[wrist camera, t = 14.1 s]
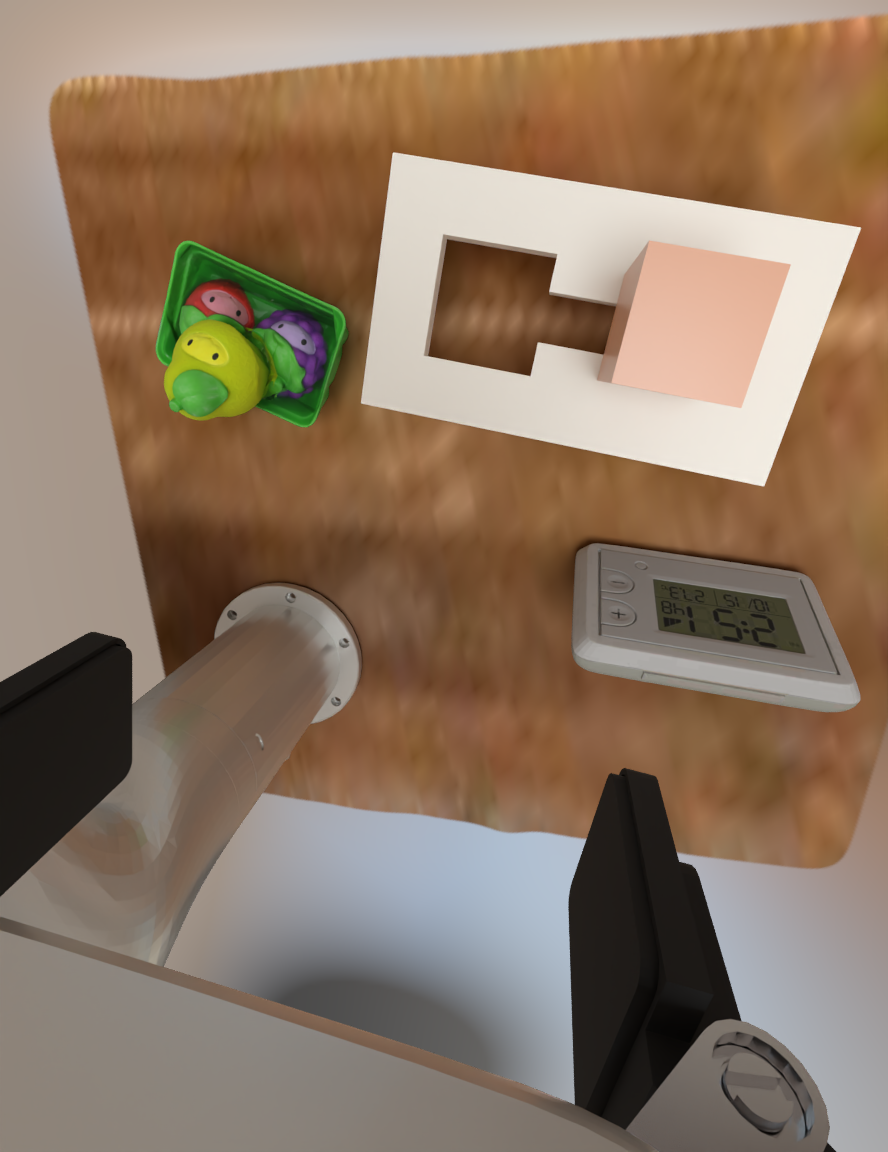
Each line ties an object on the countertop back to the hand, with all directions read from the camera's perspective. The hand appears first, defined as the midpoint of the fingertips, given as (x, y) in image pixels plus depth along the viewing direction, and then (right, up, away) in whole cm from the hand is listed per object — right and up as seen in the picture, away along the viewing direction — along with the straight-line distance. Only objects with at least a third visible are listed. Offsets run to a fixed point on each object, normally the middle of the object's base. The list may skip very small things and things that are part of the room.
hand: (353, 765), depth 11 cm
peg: (+13, +16, +21) cm, 30 cm away
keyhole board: (+10, +19, +27) cm, 35 cm away
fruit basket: (-10, +20, +31) cm, 38 cm away
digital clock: (+19, +3, +32) cm, 37 cm away
